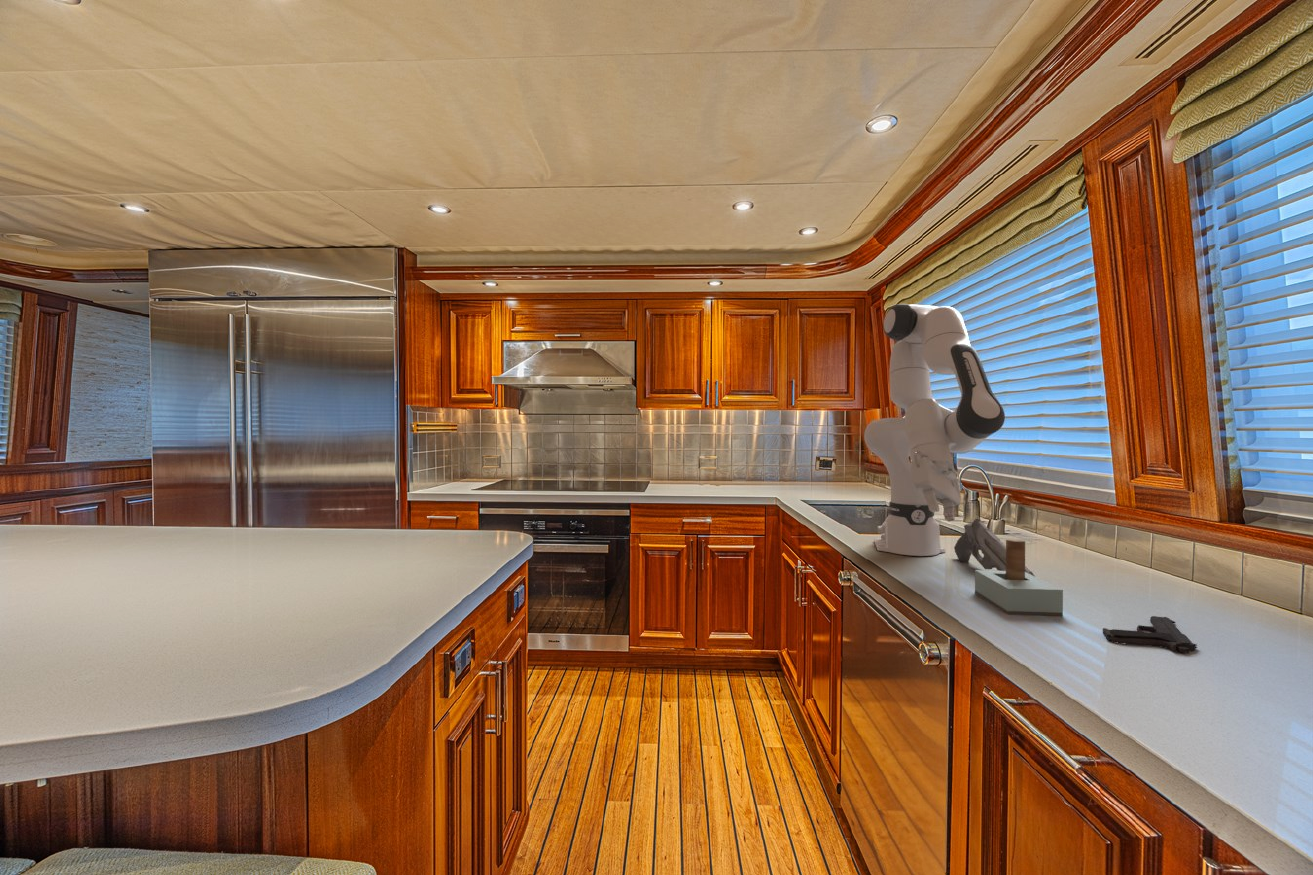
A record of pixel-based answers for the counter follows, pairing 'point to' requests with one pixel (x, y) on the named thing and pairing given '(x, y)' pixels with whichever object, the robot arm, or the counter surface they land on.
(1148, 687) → the counter surface
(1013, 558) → the walnut dowel
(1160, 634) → the handgun
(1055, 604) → the socket block
